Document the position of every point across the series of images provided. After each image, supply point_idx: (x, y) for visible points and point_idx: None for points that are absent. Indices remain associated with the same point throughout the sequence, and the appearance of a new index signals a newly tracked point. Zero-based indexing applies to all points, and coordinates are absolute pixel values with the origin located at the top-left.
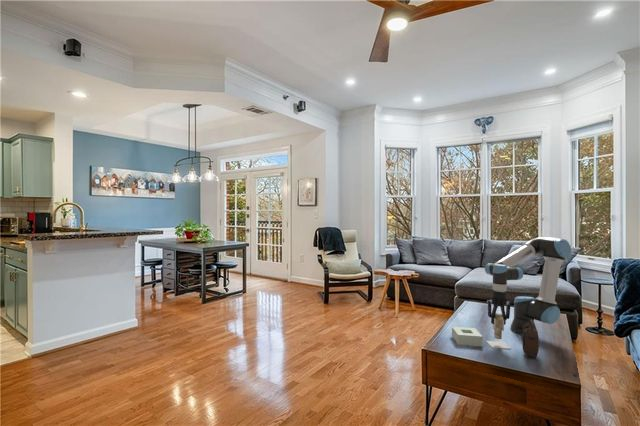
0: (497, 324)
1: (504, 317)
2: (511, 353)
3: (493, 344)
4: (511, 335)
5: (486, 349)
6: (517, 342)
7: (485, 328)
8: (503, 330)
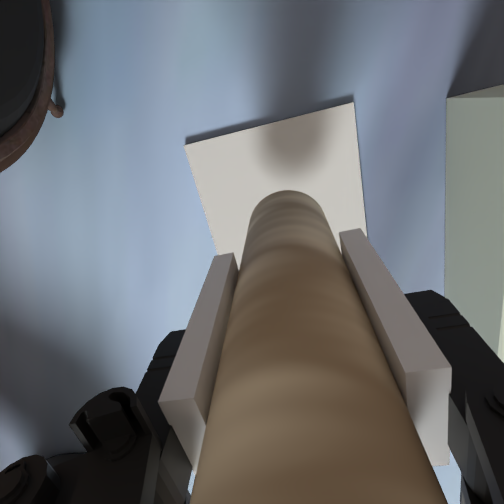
0: (327, 278)
1: (122, 480)
2: (182, 19)
3: (322, 191)
4: None
5: (428, 21)
6: (128, 323)
7: None
8: (218, 257)
